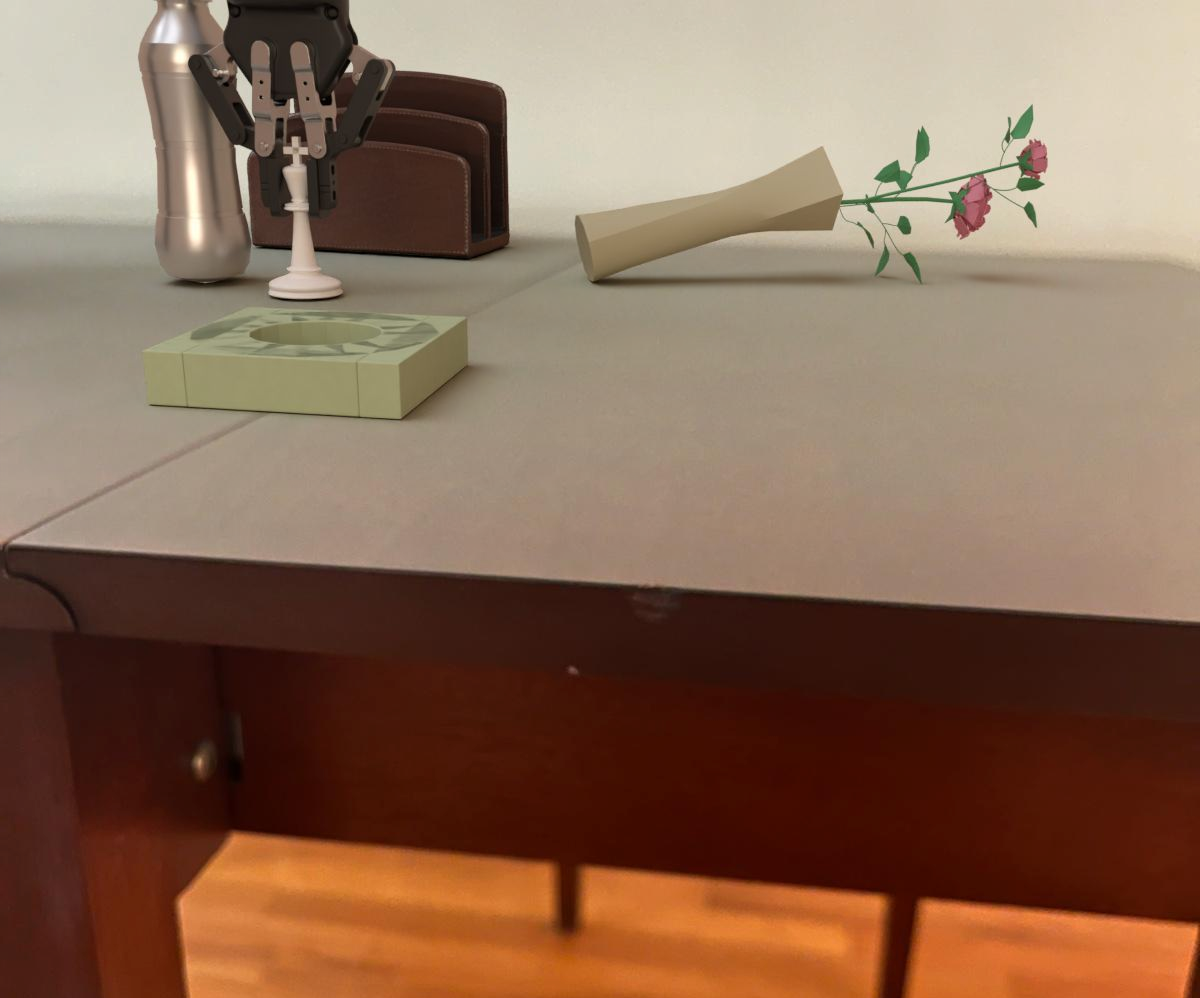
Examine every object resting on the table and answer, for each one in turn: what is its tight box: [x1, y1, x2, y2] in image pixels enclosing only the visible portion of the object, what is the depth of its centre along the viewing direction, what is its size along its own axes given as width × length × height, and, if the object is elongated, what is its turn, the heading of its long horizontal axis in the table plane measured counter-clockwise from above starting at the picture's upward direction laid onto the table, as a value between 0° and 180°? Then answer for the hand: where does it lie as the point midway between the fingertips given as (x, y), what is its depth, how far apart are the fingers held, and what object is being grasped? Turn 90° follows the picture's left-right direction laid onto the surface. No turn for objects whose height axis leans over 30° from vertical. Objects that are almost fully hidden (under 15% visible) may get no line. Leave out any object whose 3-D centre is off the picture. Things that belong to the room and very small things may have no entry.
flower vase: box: [574, 103, 1049, 285], centre depth 99 cm, size 12×12×35 cm
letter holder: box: [246, 70, 511, 260], centre depth 111 cm, size 10×20×14 cm, turn 74°
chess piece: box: [267, 137, 344, 300], centre depth 87 cm, size 5×5×10 cm
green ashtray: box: [141, 306, 469, 420], centre depth 65 cm, size 12×12×2 cm
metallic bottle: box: [137, 0, 252, 284], centre depth 90 cm, size 6×7×20 cm
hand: (301, 215), depth 87 cm, fingers closed on chess piece
